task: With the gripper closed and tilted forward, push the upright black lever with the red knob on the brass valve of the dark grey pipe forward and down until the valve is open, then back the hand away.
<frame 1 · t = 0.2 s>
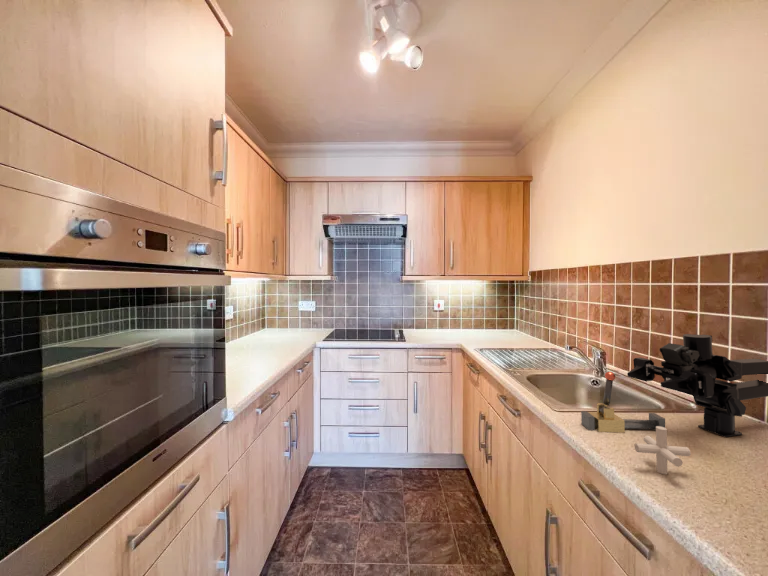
hand: (643, 379, 85), 17 cm above the table, tool horizontal, fingers open, 9 cm apart
valve lever: (607, 393, 92), point 10 cm above the table, hinge at -8.0°
valve pipe: (605, 427, 92), on the table
pipe connector: (661, 472, 70), on the table
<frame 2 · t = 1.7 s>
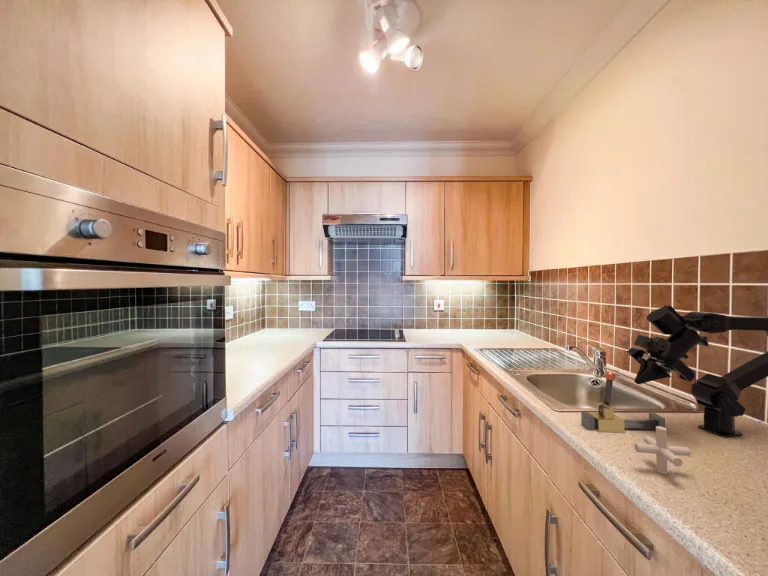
hand: (636, 382, 91), 14 cm above the table, tool tilted 45°, fingers closed
nothing on the table moved.
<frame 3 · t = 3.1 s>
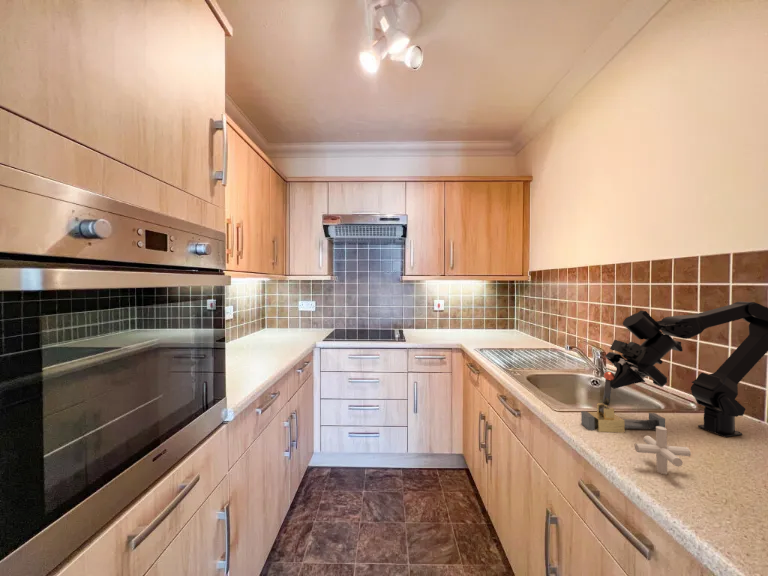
hand: (611, 387, 92), 12 cm above the table, tool tilted 45°, fingers closed, pressing on valve lever
valve lever: (607, 393, 92), point 10 cm above the table, hinge at -6.6°, touching gripper
everything else where it was.
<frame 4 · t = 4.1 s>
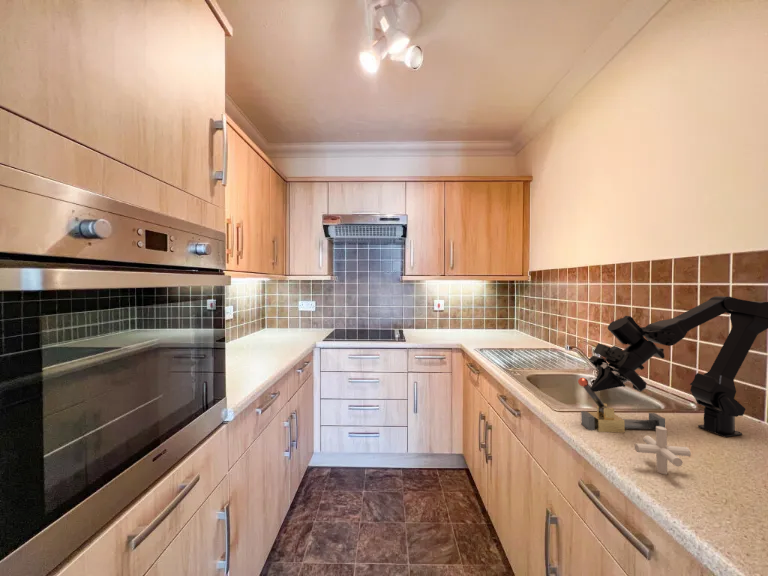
hand: (592, 390, 93), 11 cm above the table, tool tilted 50°, fingers closed, pressing on valve lever
valve lever: (594, 396, 92), point 9 cm above the table, hinge at 35.8°, touching gripper
everything else where it was.
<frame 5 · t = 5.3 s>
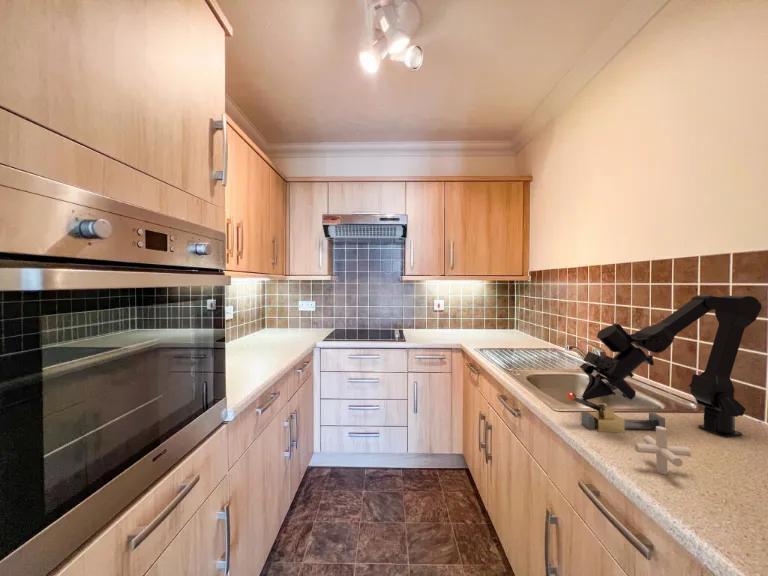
hand: (583, 398, 93), 9 cm above the table, tool tilted 45°, fingers closed, pressing on valve lever
valve lever: (587, 403, 93), point 7 cm above the table, hinge at 66.7°, touching gripper
everything else where it was.
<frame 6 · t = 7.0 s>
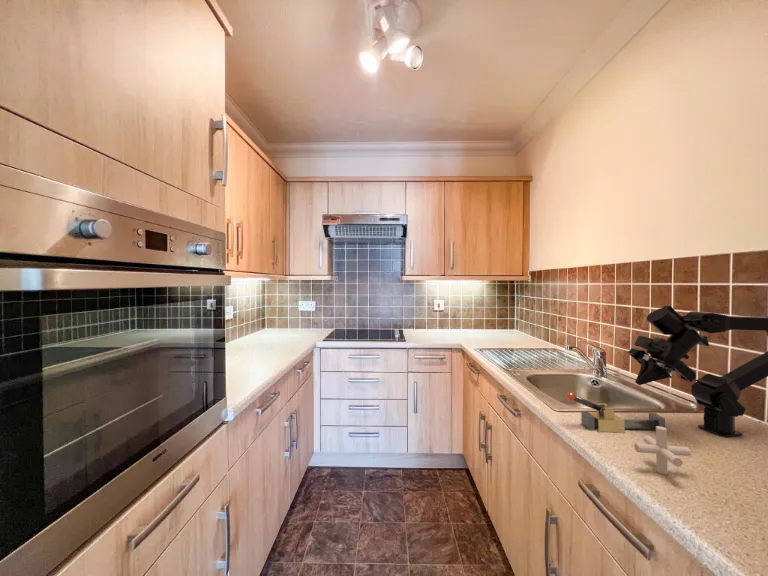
hand: (637, 383, 91), 13 cm above the table, tool tilted 45°, fingers closed
valve lever: (587, 403, 93), point 7 cm above the table, hinge at 66.9°
everything else where it was.
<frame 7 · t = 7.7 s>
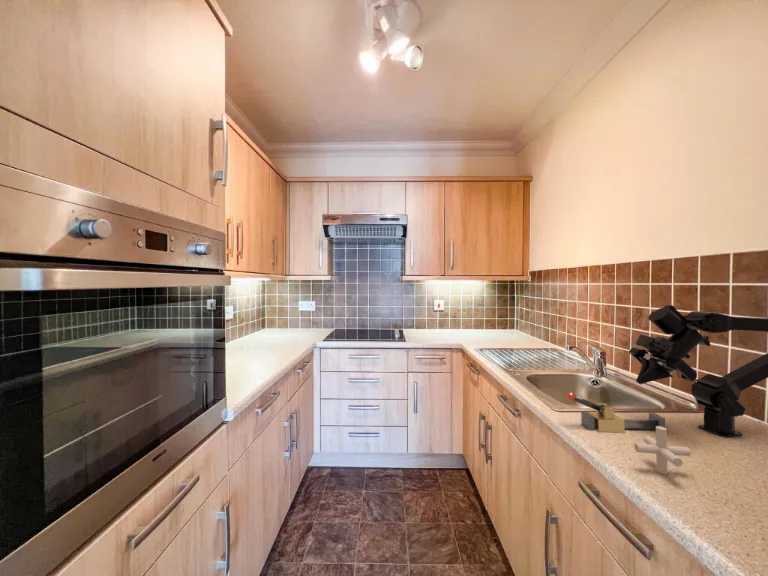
hand: (637, 382, 91), 14 cm above the table, tool tilted 45°, fingers closed
nothing on the table moved.
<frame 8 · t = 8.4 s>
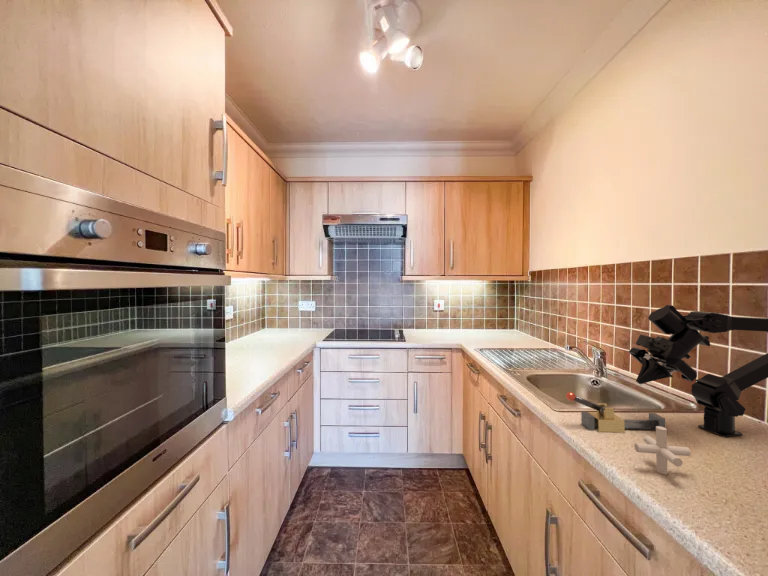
hand: (637, 382, 91), 14 cm above the table, tool tilted 45°, fingers closed
nothing on the table moved.
at the end: valve lever at +67° (first picture: -8°) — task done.
